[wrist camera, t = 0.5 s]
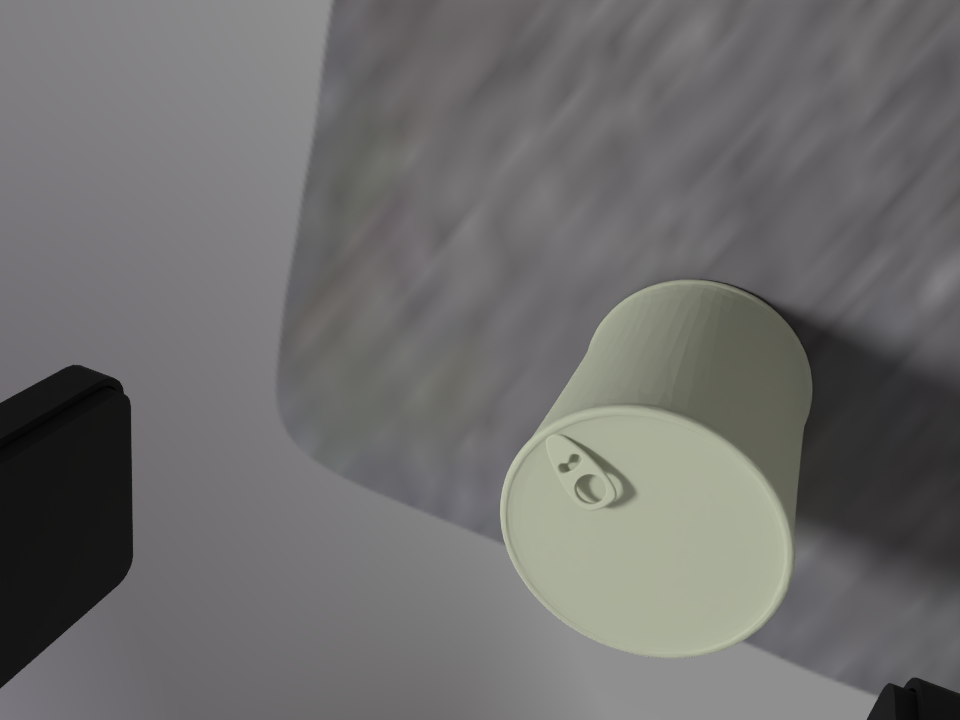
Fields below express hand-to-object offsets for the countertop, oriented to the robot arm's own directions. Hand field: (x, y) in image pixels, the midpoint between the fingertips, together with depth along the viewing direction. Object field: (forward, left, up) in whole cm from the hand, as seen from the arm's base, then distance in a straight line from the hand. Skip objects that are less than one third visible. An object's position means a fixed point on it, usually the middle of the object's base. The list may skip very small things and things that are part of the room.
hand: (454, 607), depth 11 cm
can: (+10, +2, -27) cm, 29 cm away
